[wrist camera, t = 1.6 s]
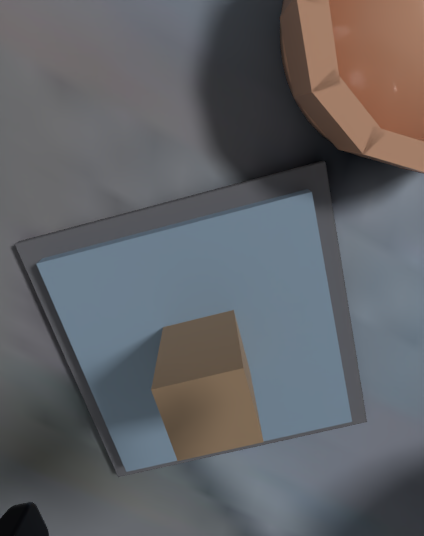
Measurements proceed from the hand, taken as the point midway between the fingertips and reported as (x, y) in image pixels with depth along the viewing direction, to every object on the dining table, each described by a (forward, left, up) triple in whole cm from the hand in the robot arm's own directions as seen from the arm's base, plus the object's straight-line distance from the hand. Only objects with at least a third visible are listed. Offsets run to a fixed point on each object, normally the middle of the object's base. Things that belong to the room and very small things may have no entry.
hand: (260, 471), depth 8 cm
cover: (-4, +2, -13) cm, 13 cm away
